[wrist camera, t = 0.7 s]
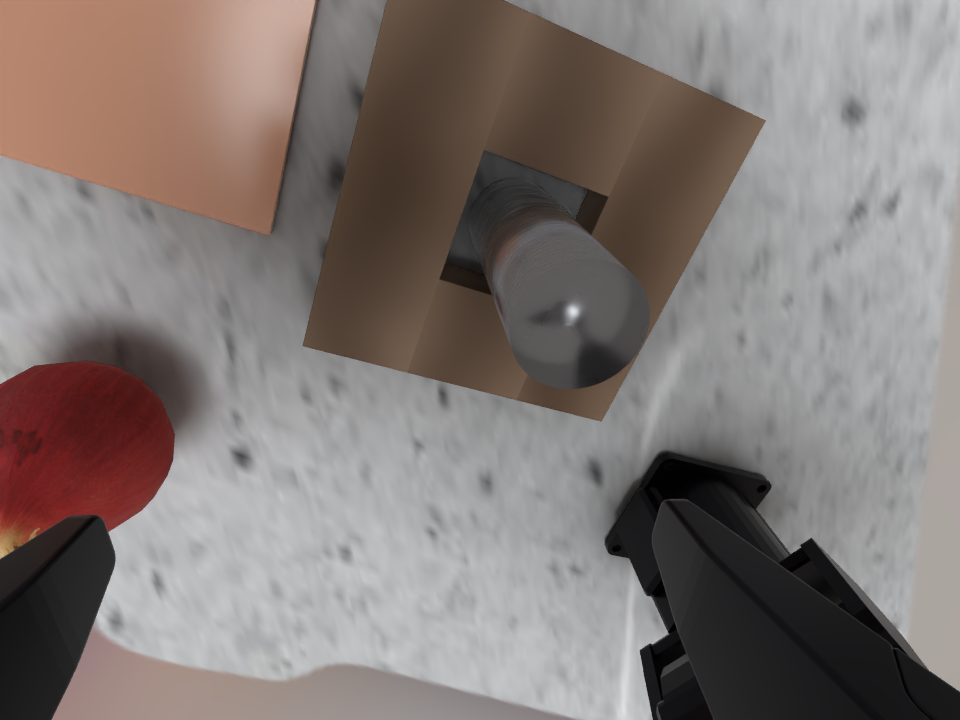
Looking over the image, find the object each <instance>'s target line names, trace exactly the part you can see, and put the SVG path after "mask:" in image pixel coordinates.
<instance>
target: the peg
mask: <svg viewBox="0 0 960 720" xmlns="http://www.w3.org/2000/svg"><path fill="white" fill-rule="evenodd" d="M469 231H470V236H471V239H472V242H473V244H474V247H475V250H476V253H477V255H478V258H479V261H480V264H481V266H482V269H483V272H484V275H485V277H486V280H487V283H488V286H489V288H490V291H491V294H492V297H493V299H494V302H495V305H496V308H497V310H498V313H499V316H500V319H501V321H502V324H503V327H504V330H505V332H506V335H507V338H508V341H509V343H510V346H511V349H512V352H513V354H514V356H515V359H516V360H517V362H518V364H519V365H520V366H521V368H522V369H523V370H524V371H525V372H526V373H527V374H528V375H529V376H530V377H532V378H533V379H535V380H536V381H538V382H540V383H542V384H544V385H547V386H550V387H554V388H559V389H579V388H586V387H590V386H593V385H596V384H599V383H601V382H604V381H605V380H607V379H609V378H611V377H613V376H614V375H616V374H617V373H619V372H620V371H621V370H622V369H624V368H625V367H626V366H627V365H628V364H629V363H630V362H631V361H632V359H633V358H634V357H635V356H636V354H637V353H638V351H639V350H640V348H641V347H642V344H643V342H644V340H645V338H646V335H647V332H648V328H649V322H650V308H649V302H648V298H647V295H646V293H645V290H644V289H643V287H642V285H641V284H640V282H639V281H638V280H637V279H636V277H635V276H634V275H633V274H632V273H631V272H630V271H628V270H627V269H626V268H625V267H624V266H623V265H622V264H621V263H620V262H619V261H618V260H617V259H616V258H615V257H614V256H613V255H612V254H611V253H609V252H608V251H607V250H606V249H605V248H604V247H603V246H602V245H601V244H600V243H599V242H598V241H597V240H596V239H595V238H594V237H593V236H592V235H591V234H589V233H588V232H587V231H586V230H585V229H584V228H583V227H582V226H581V225H580V224H579V223H578V222H577V221H576V220H575V219H574V218H573V217H572V216H571V215H569V214H568V213H567V212H566V211H565V210H564V209H563V208H562V207H561V206H560V205H559V204H558V203H557V202H556V201H555V200H554V199H553V198H552V197H550V196H549V195H548V194H547V193H546V192H545V191H544V190H543V189H542V188H541V187H540V186H538V185H537V184H535V183H533V182H531V181H529V180H525V179H521V178H509V179H504V180H500V181H498V182H495V183H493V184H492V185H490V186H489V187H487V188H486V189H485V190H484V191H483V192H482V193H481V194H480V195H479V196H478V198H477V199H476V201H475V203H474V204H473V207H472V209H471V213H470V217H469Z"/></svg>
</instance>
